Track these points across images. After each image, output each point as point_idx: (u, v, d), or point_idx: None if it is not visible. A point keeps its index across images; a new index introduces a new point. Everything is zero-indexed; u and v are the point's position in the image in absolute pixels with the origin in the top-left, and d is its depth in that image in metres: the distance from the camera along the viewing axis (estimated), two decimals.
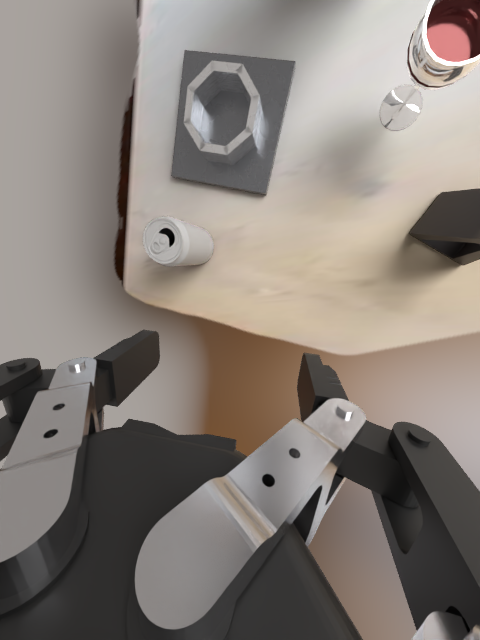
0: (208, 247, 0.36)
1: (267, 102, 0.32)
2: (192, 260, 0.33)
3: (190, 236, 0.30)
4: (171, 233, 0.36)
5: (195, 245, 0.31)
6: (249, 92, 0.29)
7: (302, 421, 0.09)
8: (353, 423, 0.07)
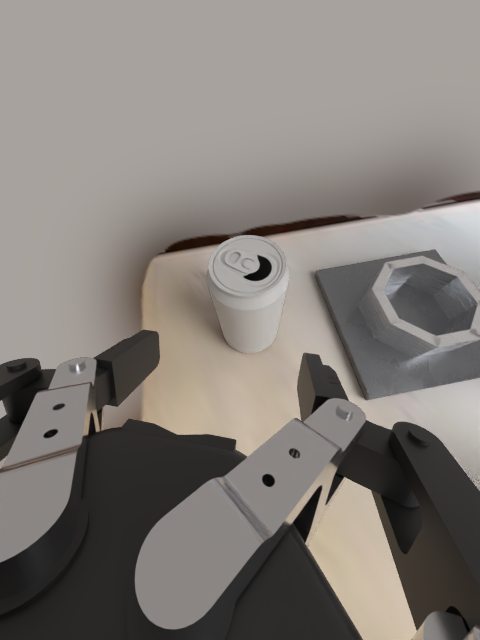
0: (258, 343, 0.22)
1: (464, 352, 0.23)
2: (232, 324, 0.19)
3: (272, 306, 0.16)
4: None
5: (259, 319, 0.18)
6: (473, 324, 0.21)
7: (302, 421, 0.09)
8: (353, 423, 0.07)
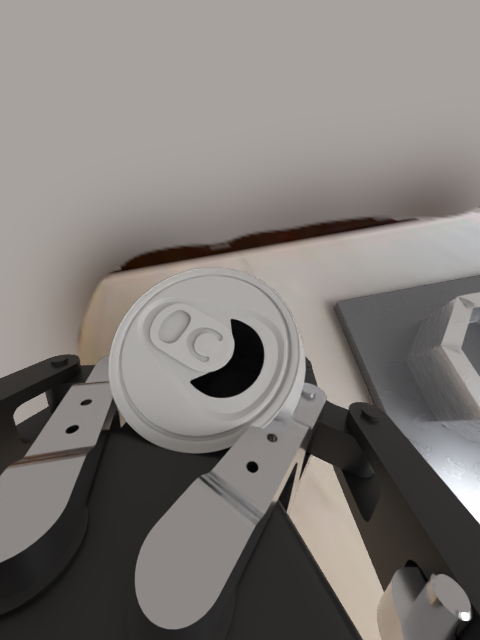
0: None
1: None
2: None
3: None
4: (239, 338, 0.15)
5: None
6: None
7: None
8: (313, 403, 0.07)
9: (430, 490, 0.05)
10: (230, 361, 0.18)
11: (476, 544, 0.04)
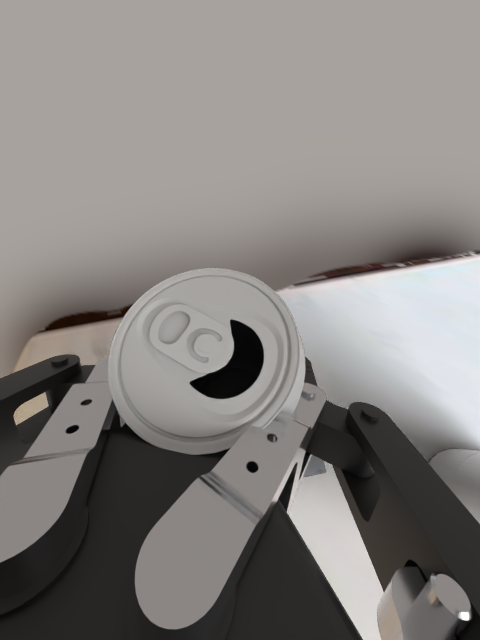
0: None
1: None
2: None
3: None
4: (239, 338, 0.15)
5: None
6: None
7: None
8: (313, 403, 0.07)
9: (430, 490, 0.05)
10: (230, 361, 0.18)
11: (475, 543, 0.04)
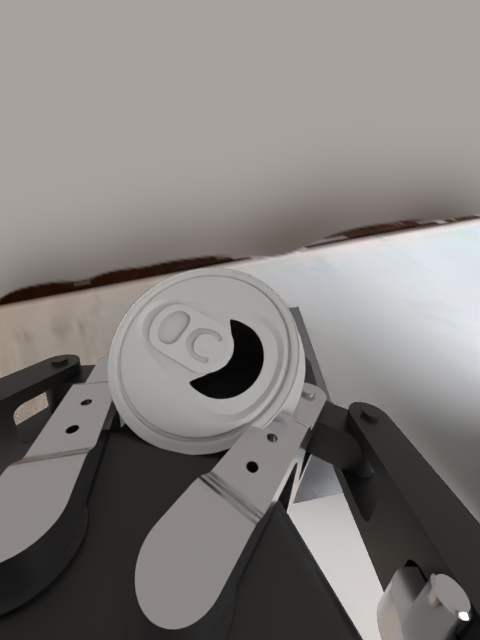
0: None
1: None
2: None
3: None
4: (239, 338, 0.15)
5: None
6: None
7: None
8: (313, 403, 0.07)
9: (430, 490, 0.05)
10: (230, 361, 0.18)
11: (476, 543, 0.04)
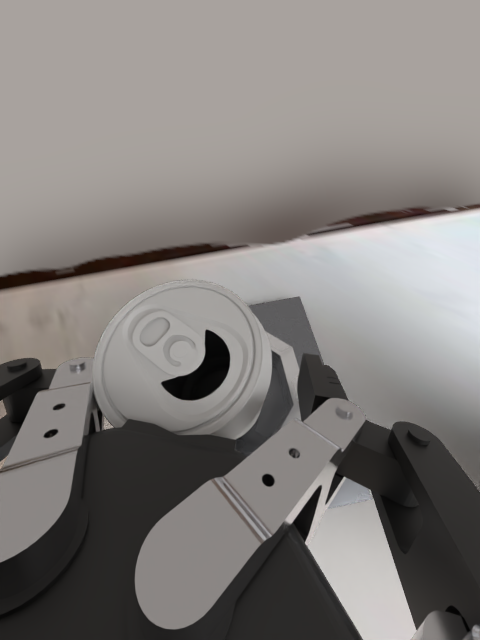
0: None
1: None
2: None
3: None
4: None
5: None
6: None
7: (302, 421, 0.09)
8: (353, 423, 0.07)
9: None
10: (221, 362, 0.19)
11: None
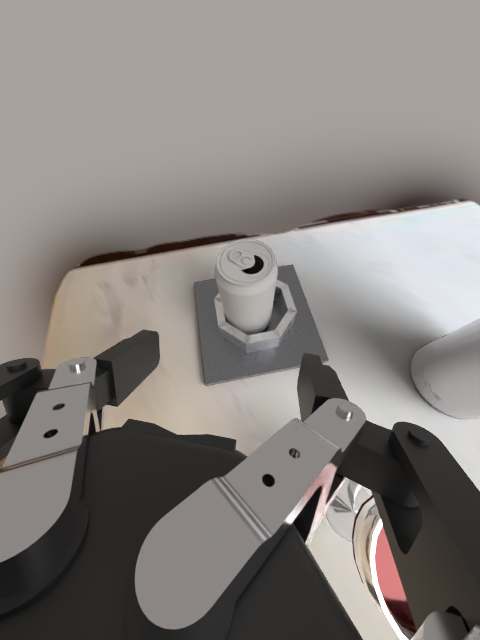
0: (252, 327, 0.28)
1: (286, 348, 0.30)
2: (231, 307, 0.24)
3: (261, 294, 0.22)
4: None
5: (252, 304, 0.23)
6: (278, 326, 0.27)
7: (302, 421, 0.09)
8: (353, 423, 0.07)
9: None
10: None
11: None
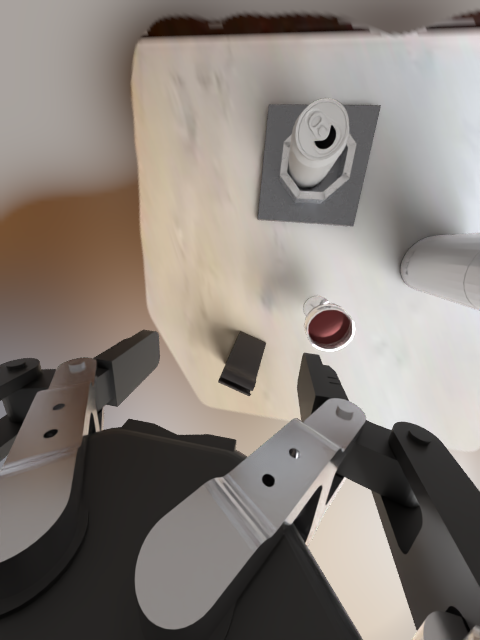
0: (307, 183, 0.34)
1: (327, 206, 0.37)
2: (295, 167, 0.30)
3: (322, 168, 0.27)
4: None
5: (311, 172, 0.28)
6: (327, 189, 0.33)
7: (302, 421, 0.09)
8: (353, 423, 0.07)
9: None
10: None
11: None
